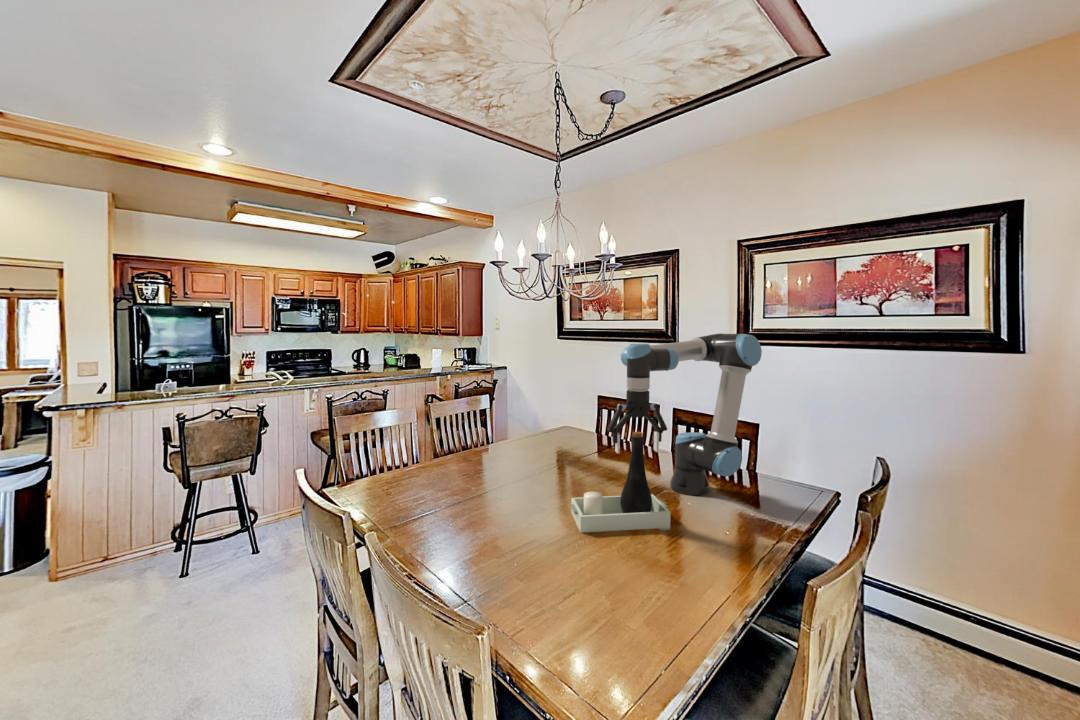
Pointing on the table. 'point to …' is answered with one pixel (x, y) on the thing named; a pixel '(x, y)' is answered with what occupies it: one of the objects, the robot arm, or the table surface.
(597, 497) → the cream capsule cylinder
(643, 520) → the tote
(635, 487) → the bottle
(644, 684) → the table surface
